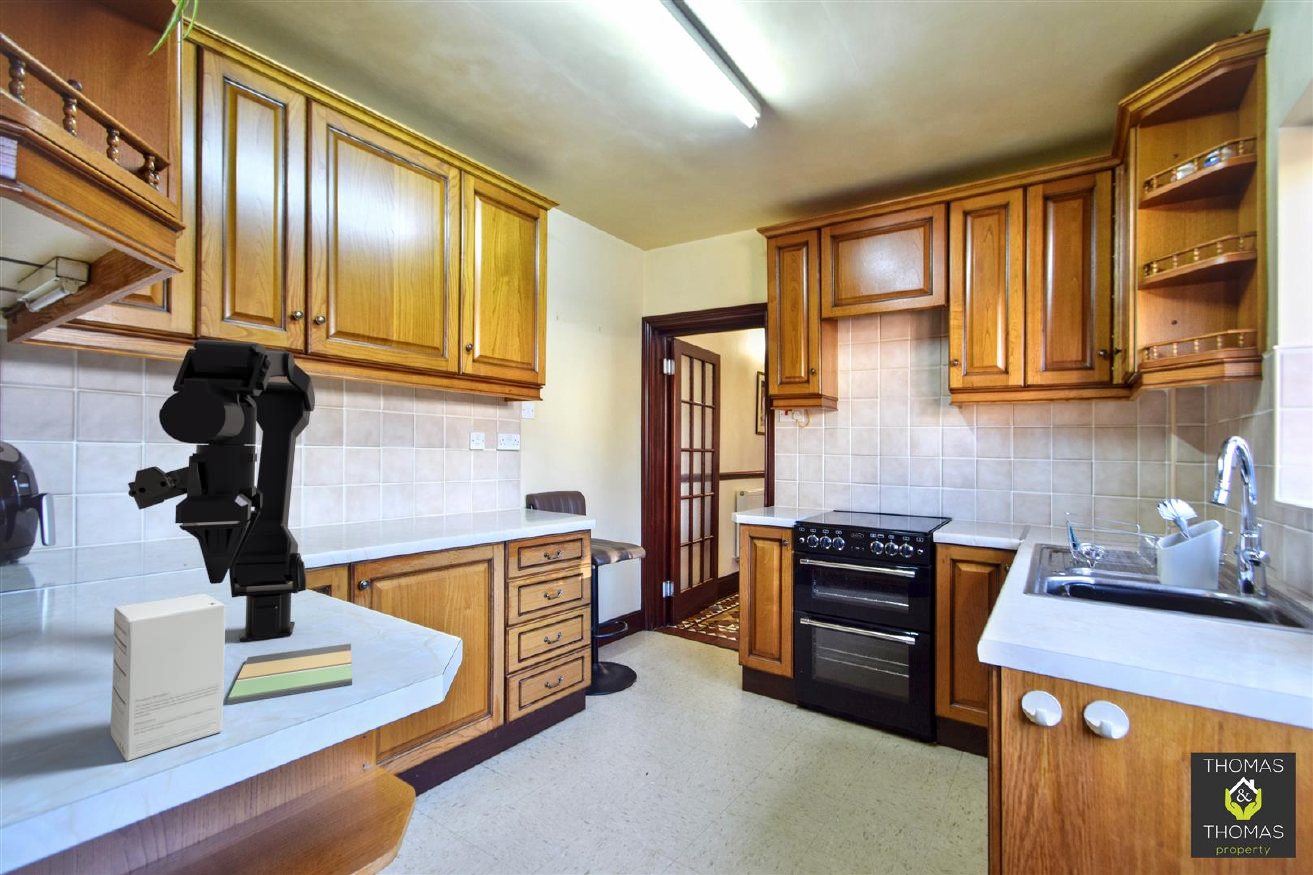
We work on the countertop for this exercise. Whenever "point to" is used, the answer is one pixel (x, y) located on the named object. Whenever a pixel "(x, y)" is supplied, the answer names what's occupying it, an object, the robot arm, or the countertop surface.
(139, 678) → the supplement box
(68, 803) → the countertop surface
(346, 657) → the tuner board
